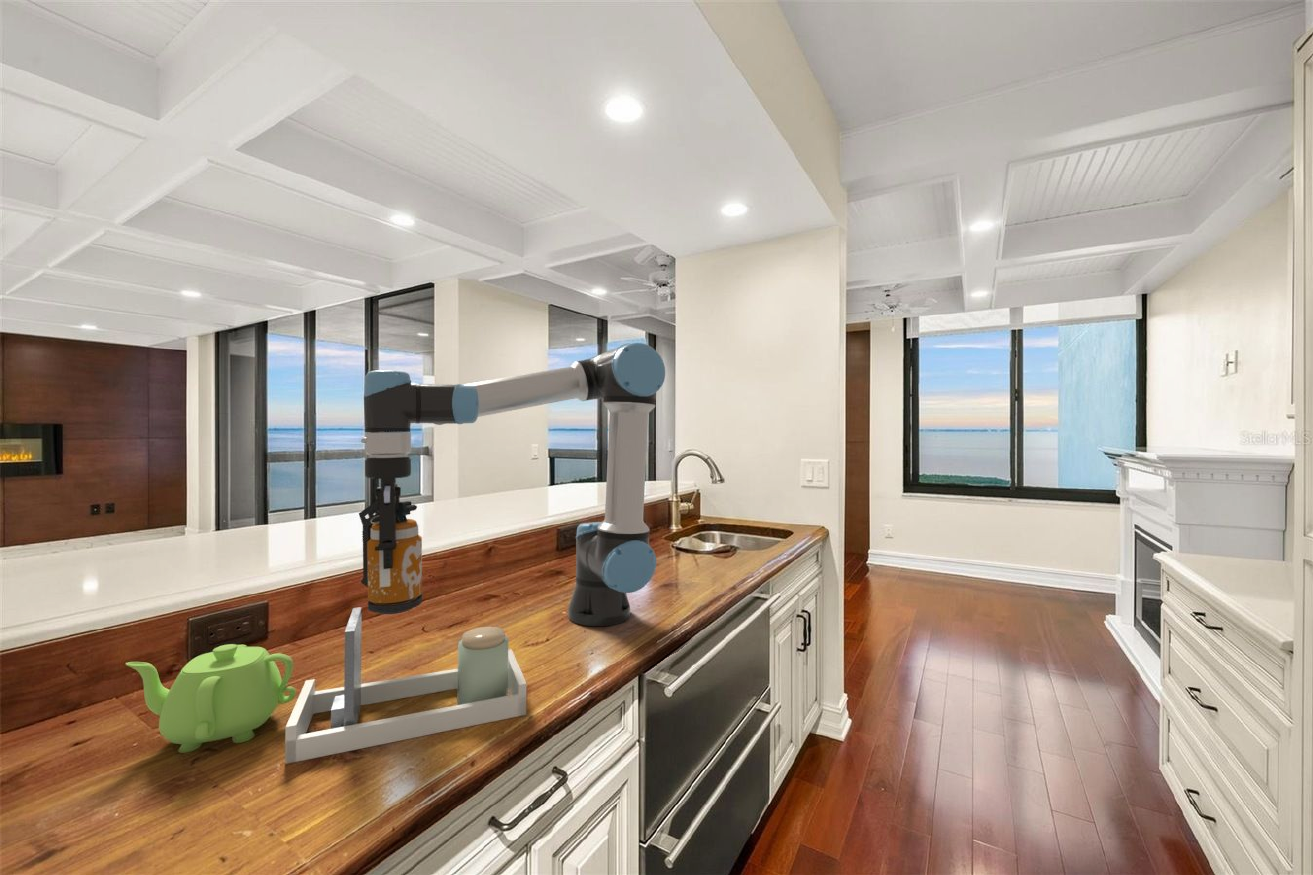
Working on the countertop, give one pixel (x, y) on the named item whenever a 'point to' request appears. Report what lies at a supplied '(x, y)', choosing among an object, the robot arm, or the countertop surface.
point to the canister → (405, 562)
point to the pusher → (350, 676)
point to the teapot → (218, 695)
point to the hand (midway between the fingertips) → (389, 579)
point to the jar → (482, 665)
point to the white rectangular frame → (401, 726)
